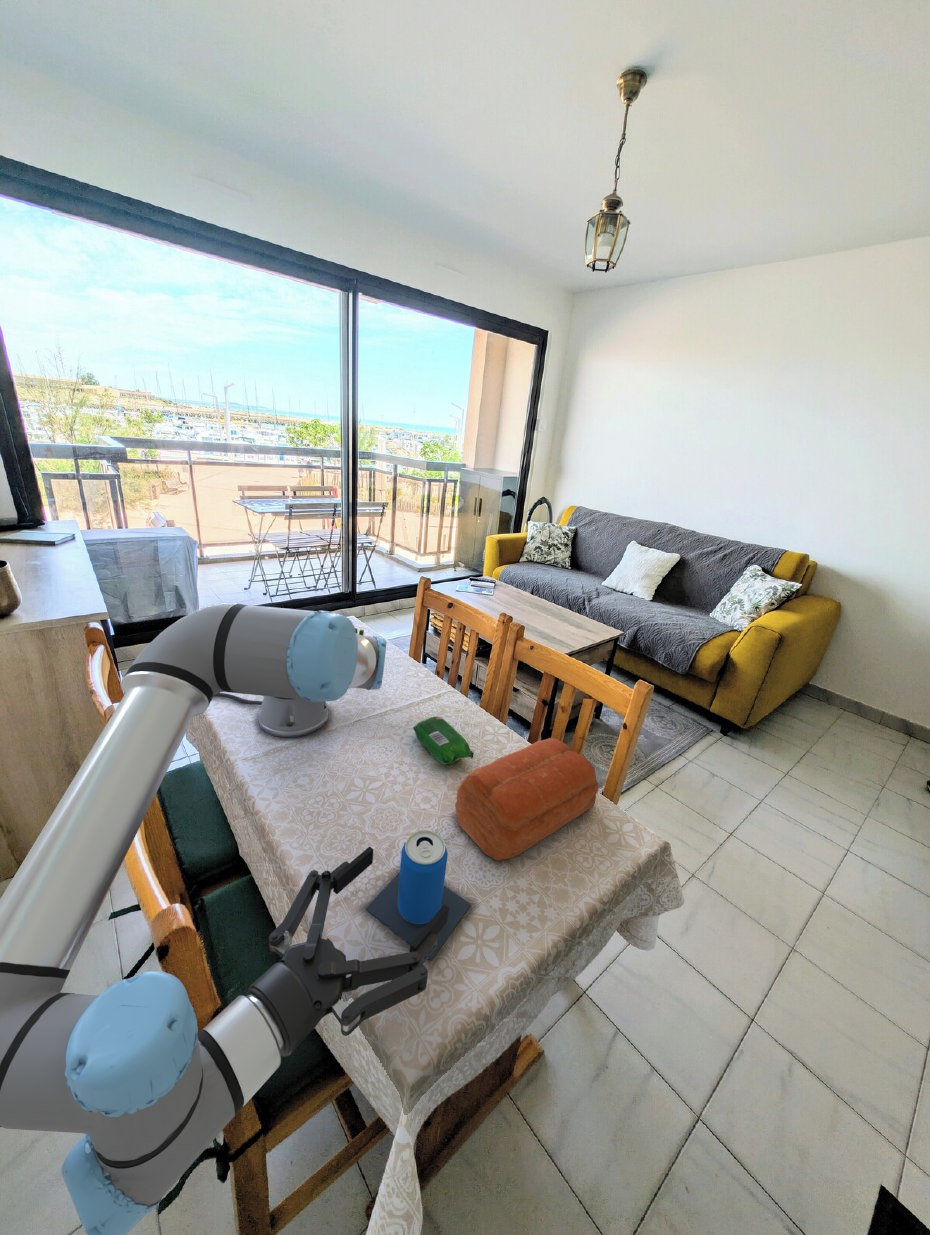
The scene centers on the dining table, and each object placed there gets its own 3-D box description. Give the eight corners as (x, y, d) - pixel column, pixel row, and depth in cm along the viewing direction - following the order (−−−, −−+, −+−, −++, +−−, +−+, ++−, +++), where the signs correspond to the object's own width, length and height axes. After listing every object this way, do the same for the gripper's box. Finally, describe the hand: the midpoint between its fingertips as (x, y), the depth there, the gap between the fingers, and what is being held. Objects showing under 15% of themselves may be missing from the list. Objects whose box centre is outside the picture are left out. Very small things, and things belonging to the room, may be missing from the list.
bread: (601, 808, 93) (612, 765, 89) (501, 873, 77) (510, 824, 73) (543, 763, 104) (551, 723, 100) (446, 812, 88) (451, 766, 84)
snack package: (446, 777, 97) (449, 756, 95) (409, 735, 108) (411, 716, 106) (474, 766, 101) (477, 746, 99) (435, 727, 112) (437, 708, 110)
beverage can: (438, 884, 73) (445, 826, 69) (443, 925, 67) (451, 864, 63) (396, 888, 72) (400, 828, 67) (398, 929, 66) (403, 867, 62)
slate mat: (365, 909, 69) (365, 907, 68) (409, 863, 77) (409, 861, 76) (431, 961, 63) (431, 959, 63) (470, 905, 71) (471, 903, 71)
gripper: (202, 966, 55) (344, 852, 72) (346, 1153, 42) (478, 961, 59) (196, 922, 52) (344, 814, 69) (348, 1108, 40) (485, 920, 56)
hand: (406, 882), depth 64 cm, fingers open, 13 cm apart
